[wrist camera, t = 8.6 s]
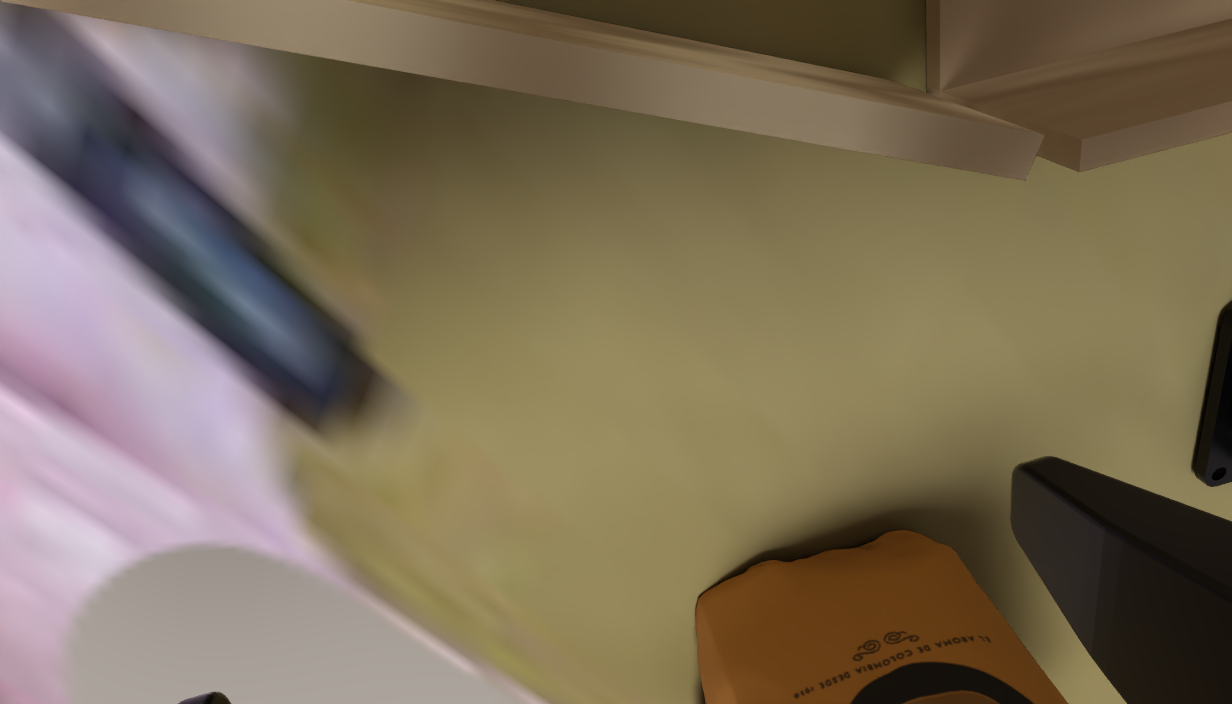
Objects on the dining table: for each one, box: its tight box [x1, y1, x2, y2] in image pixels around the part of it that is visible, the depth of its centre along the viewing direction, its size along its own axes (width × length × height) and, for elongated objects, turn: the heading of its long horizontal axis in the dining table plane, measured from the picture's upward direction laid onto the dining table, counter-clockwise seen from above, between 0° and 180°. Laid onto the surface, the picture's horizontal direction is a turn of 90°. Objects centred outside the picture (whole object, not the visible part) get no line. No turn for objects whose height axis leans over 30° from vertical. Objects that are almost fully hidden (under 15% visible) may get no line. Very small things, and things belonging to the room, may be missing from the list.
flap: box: [0, 0, 1044, 181], centre depth 15 cm, size 17×1×6 cm, turn 78°
